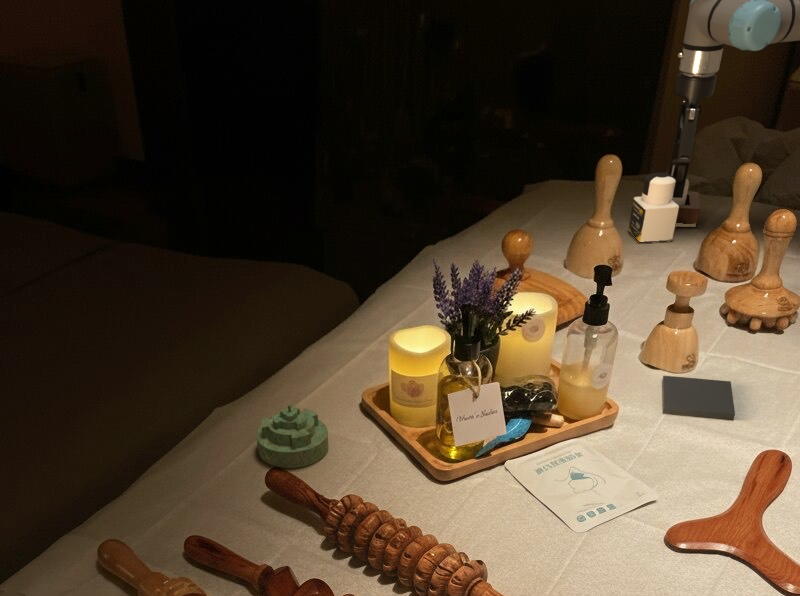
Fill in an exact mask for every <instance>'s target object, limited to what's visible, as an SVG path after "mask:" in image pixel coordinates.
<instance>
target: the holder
mask: <svg viewBox="0 0 800 596" xmlns="http://www.w3.org/2000/svg"><path fill="white" fill-rule="evenodd" d="M678 206H679V210H678V215H677V219H676V223H683V224H693V223H694V224H695V223H696V224H697V225H698V223H699V222H698V221H699V217H700V212H701V203H700V196H699V192H698V191H688V192H687V197H686V202H685V205H678Z"/></svg>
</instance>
